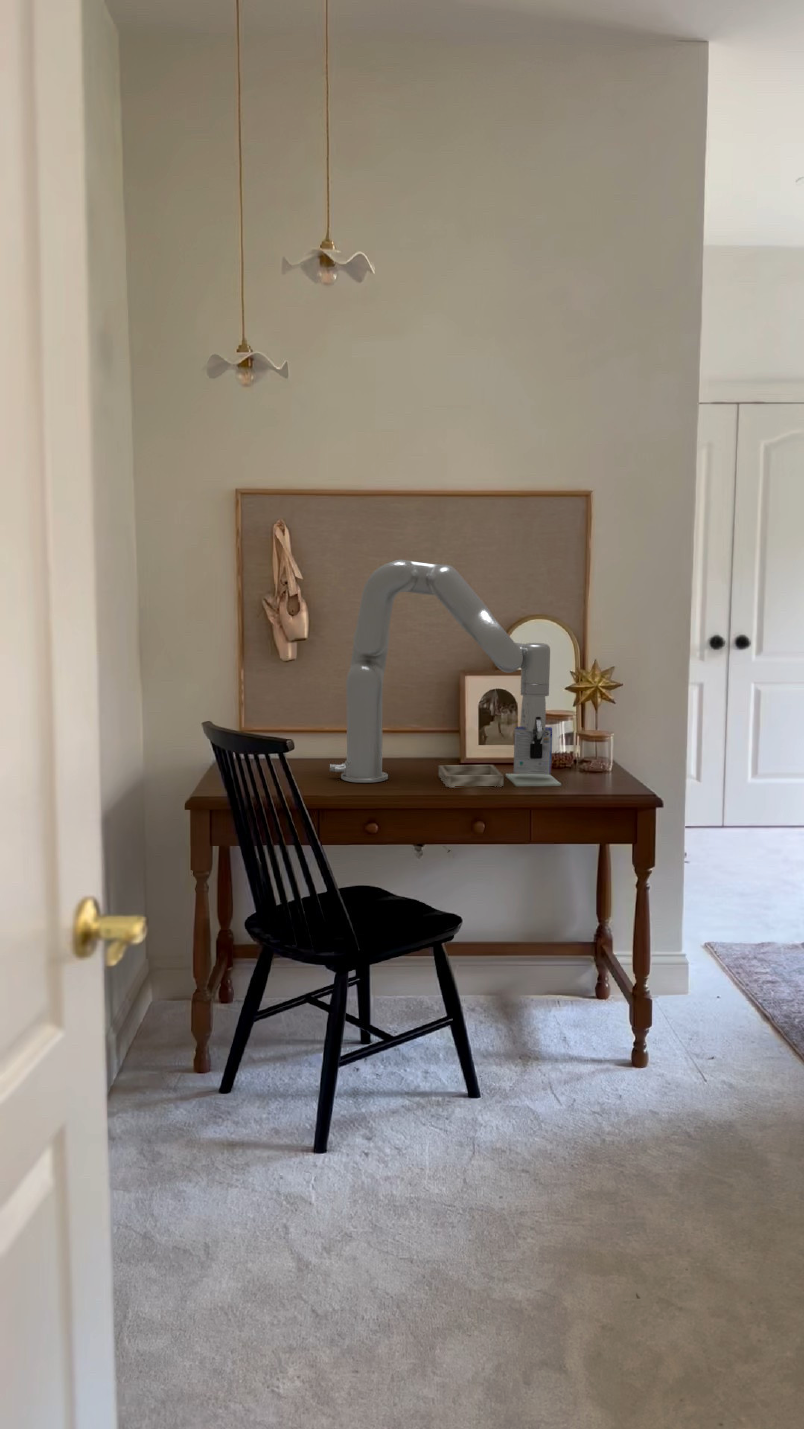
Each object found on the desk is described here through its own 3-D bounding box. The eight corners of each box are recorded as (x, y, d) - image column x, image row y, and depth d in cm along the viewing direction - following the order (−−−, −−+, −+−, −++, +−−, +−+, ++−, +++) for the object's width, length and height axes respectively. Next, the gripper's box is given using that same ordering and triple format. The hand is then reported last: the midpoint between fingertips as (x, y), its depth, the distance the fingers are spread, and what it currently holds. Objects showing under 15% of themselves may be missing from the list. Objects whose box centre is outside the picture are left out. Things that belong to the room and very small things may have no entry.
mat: (516, 786, 287) (516, 784, 287) (505, 775, 301) (505, 773, 301) (560, 785, 289) (560, 783, 289) (548, 775, 302) (548, 773, 302)
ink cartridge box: (551, 771, 296) (553, 718, 294) (550, 775, 291) (552, 721, 289) (515, 769, 298) (516, 717, 296) (513, 773, 293) (514, 720, 291)
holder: (446, 787, 285) (446, 776, 285) (438, 776, 300) (438, 765, 299) (503, 786, 287) (503, 775, 286) (492, 775, 301) (492, 764, 301)
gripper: (514, 686, 300) (512, 750, 302) (527, 693, 283) (526, 762, 285) (541, 686, 300) (539, 750, 303) (556, 693, 283) (554, 761, 286)
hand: (532, 755), depth 294 cm, fingers closed on ink cartridge box, 6 cm apart
